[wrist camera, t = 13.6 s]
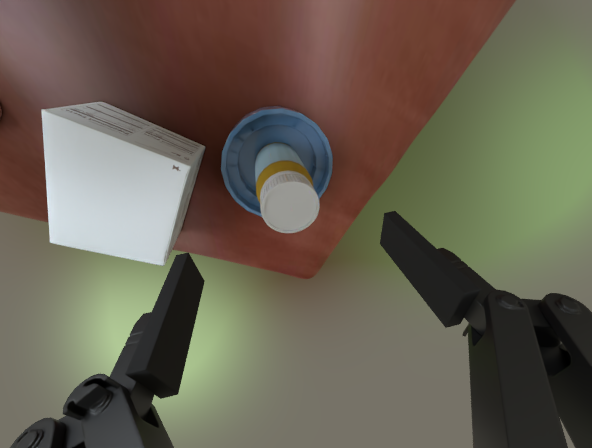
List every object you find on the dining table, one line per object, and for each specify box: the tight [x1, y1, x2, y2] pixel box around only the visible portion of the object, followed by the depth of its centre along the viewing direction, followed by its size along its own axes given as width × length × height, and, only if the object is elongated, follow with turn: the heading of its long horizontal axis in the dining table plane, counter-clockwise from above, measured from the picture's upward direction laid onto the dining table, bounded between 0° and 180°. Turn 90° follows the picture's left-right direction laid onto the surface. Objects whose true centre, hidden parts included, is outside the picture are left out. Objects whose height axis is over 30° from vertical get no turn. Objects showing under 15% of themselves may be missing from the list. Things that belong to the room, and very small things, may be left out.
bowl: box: [221, 106, 333, 217], centre depth 33 cm, size 16×16×4 cm
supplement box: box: [42, 101, 206, 266], centre depth 29 cm, size 17×13×9 cm
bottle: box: [255, 142, 319, 233], centre depth 28 cm, size 7×7×15 cm
